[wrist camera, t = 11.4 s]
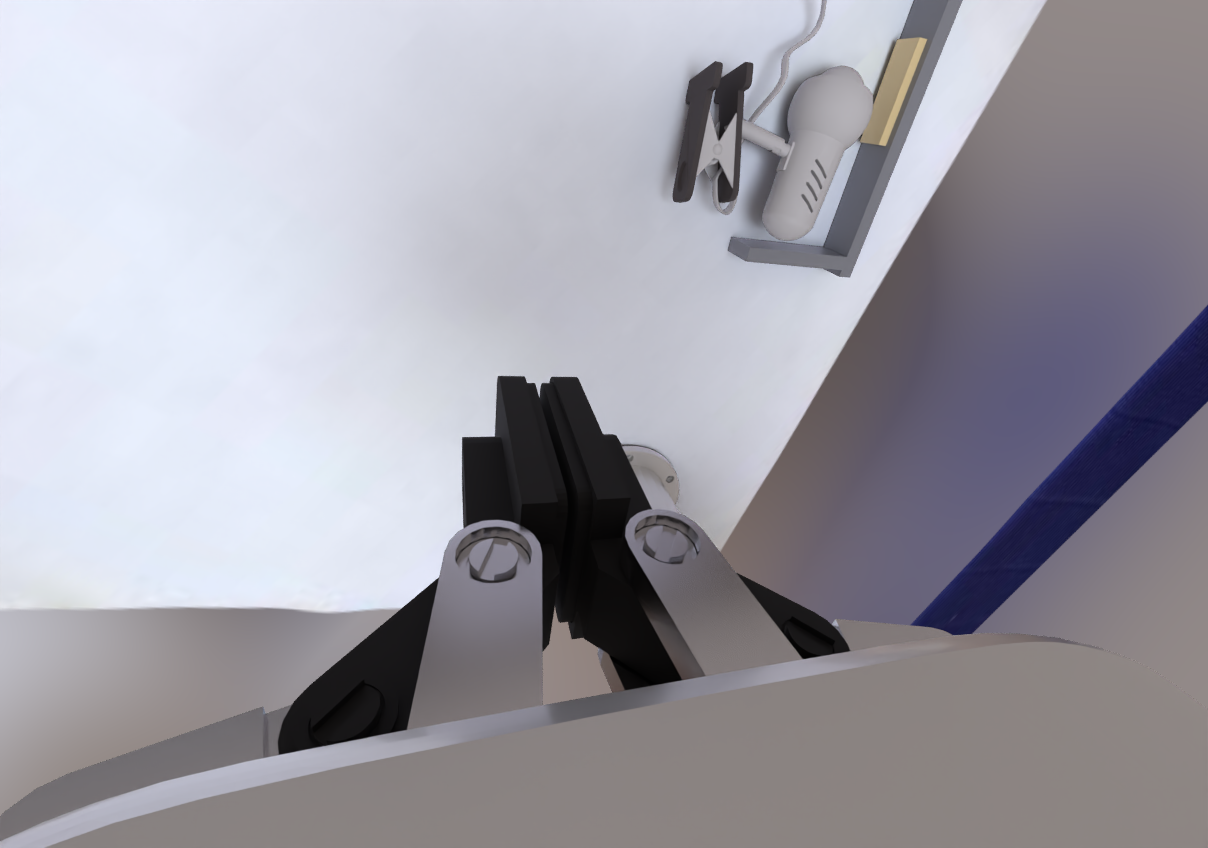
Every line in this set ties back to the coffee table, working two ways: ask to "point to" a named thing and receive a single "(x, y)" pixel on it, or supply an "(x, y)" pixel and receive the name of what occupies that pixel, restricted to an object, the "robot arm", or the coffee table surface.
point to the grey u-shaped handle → (872, 147)
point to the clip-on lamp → (773, 139)
